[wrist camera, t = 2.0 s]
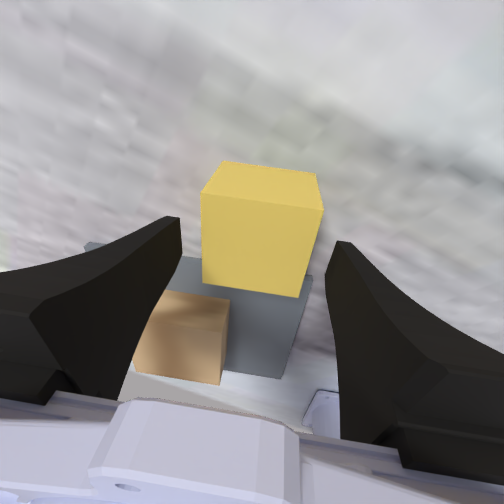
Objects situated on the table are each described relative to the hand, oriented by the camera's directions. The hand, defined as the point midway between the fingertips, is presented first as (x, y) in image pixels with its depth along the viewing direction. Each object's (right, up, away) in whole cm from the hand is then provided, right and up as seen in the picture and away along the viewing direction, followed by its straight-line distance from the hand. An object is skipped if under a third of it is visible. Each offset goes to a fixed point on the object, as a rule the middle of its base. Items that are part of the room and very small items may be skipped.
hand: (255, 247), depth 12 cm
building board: (-4, -6, +10) cm, 12 cm away
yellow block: (+1, +2, +4) cm, 4 cm away
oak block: (-6, -6, +10) cm, 13 cm away
